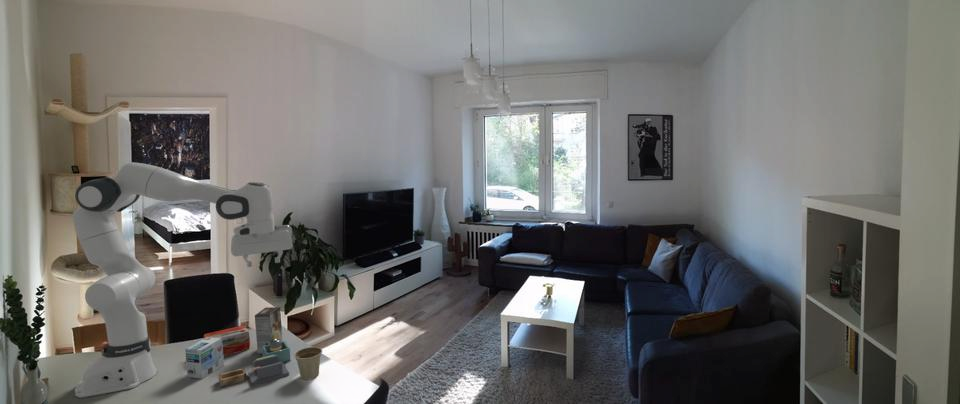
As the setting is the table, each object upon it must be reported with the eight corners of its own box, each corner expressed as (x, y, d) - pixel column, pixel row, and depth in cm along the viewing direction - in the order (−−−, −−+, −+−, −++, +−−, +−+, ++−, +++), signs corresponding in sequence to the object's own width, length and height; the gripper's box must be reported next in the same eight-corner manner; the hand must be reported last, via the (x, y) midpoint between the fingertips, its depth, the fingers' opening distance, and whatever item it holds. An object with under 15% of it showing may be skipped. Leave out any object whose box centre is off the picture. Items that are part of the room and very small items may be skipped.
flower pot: (290, 375, 163) (289, 352, 162) (315, 366, 170) (314, 344, 169) (303, 384, 156) (301, 361, 155) (328, 374, 163) (327, 352, 162)
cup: (267, 366, 169) (266, 354, 169) (263, 358, 176) (262, 346, 175) (290, 360, 174) (289, 348, 174) (285, 352, 181) (284, 341, 180)
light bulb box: (202, 379, 161) (200, 350, 160) (186, 377, 162) (183, 348, 161) (225, 365, 171) (222, 337, 170) (209, 363, 173) (207, 336, 171)
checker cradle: (252, 385, 156) (251, 370, 156) (248, 374, 164) (247, 360, 163) (289, 375, 163) (288, 360, 163) (283, 365, 170) (282, 351, 170)
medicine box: (207, 360, 175) (206, 340, 174) (204, 353, 182) (202, 334, 181) (250, 349, 185) (249, 330, 184) (245, 342, 191) (244, 324, 190)
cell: (269, 357, 175) (268, 339, 175) (280, 354, 178) (279, 336, 177) (271, 361, 172) (270, 342, 171) (283, 358, 174) (282, 339, 174)
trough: (220, 387, 155) (220, 380, 155) (219, 381, 159) (218, 374, 159) (246, 380, 160) (246, 373, 159) (244, 374, 164) (244, 368, 163)
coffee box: (268, 343, 189) (265, 306, 187) (283, 343, 189) (280, 306, 187) (257, 353, 180) (254, 315, 178) (272, 353, 180) (270, 315, 178)
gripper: (289, 223, 172) (291, 258, 174) (228, 229, 161) (231, 267, 162) (293, 225, 167) (295, 261, 169) (231, 231, 155) (234, 270, 157)
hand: (263, 264), depth 165 cm, fingers open, 8 cm apart
